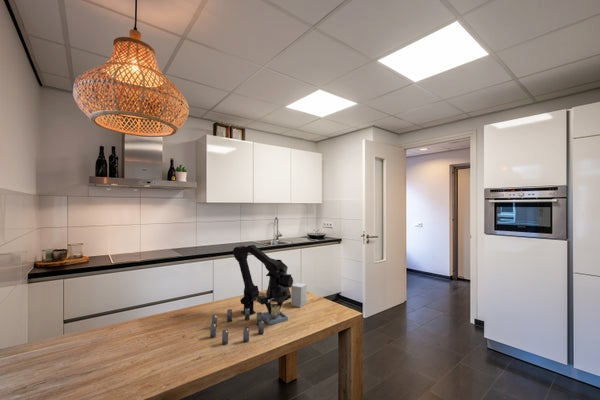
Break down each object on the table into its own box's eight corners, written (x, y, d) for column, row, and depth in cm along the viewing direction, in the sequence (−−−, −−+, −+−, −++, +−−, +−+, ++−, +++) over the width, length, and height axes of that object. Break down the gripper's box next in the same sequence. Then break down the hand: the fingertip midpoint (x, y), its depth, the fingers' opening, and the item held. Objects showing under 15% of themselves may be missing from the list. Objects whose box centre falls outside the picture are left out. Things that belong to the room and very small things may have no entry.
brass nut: (267, 313, 149) (267, 304, 149) (275, 311, 152) (275, 302, 152) (272, 317, 144) (272, 308, 144) (280, 315, 147) (281, 306, 147)
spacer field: (203, 326, 138) (203, 314, 138) (251, 314, 153) (251, 304, 153) (218, 350, 116) (218, 337, 116) (272, 334, 131) (272, 322, 131)
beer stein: (282, 303, 170) (282, 264, 170) (257, 298, 179) (258, 261, 179) (294, 295, 184) (295, 259, 184) (271, 290, 194) (272, 256, 194)
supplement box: (306, 304, 170) (307, 284, 170) (300, 307, 164) (301, 287, 164) (297, 301, 174) (297, 282, 174) (290, 305, 168) (291, 285, 168)
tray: (260, 317, 150) (260, 313, 150) (278, 313, 156) (278, 309, 156) (269, 325, 140) (269, 321, 140) (287, 320, 147) (287, 316, 147)
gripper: (265, 291, 136) (265, 322, 136) (296, 285, 147) (295, 314, 147) (256, 285, 146) (256, 314, 146) (286, 280, 156) (285, 307, 156)
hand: (274, 312), depth 148 cm, fingers closed on brass nut, 5 cm apart
